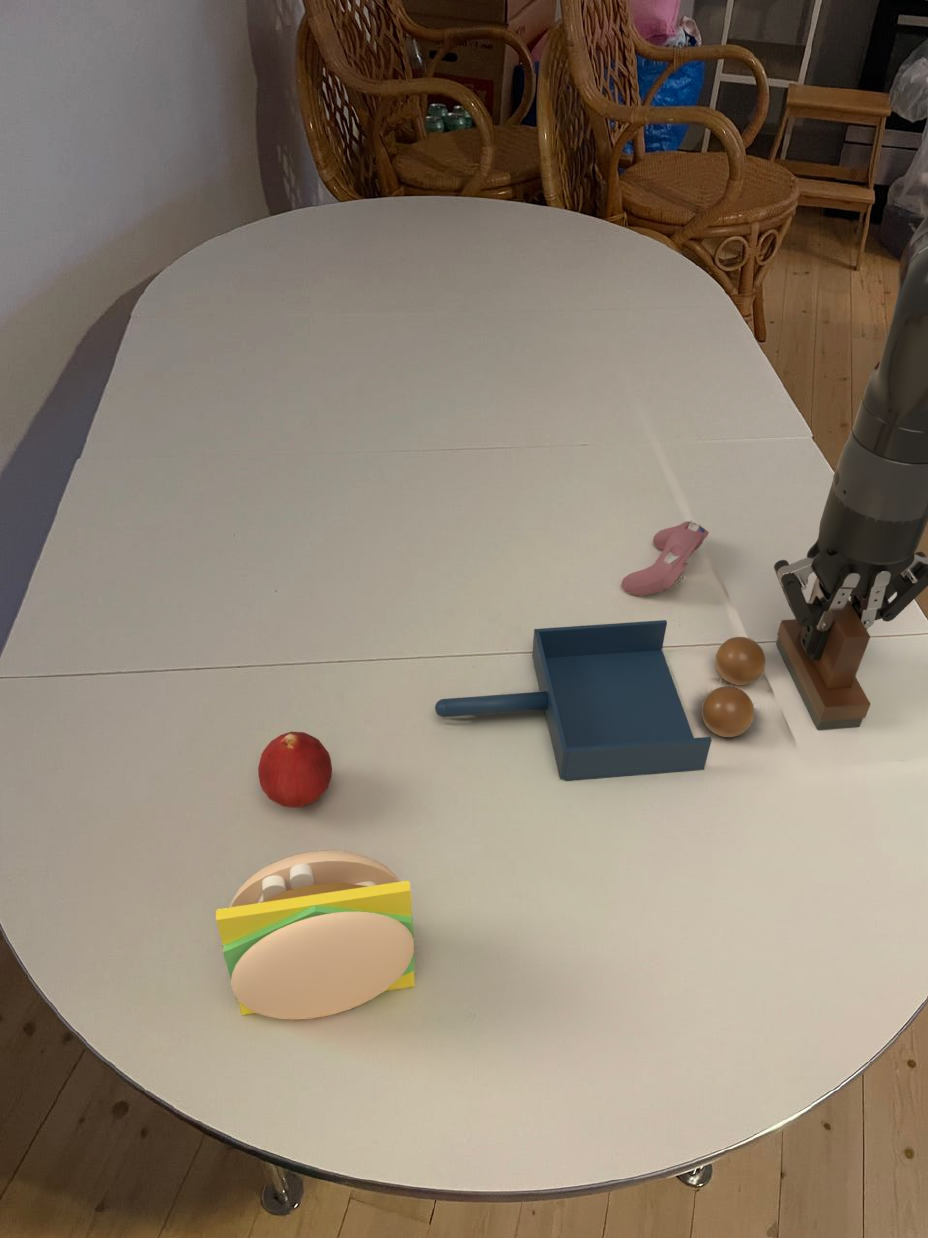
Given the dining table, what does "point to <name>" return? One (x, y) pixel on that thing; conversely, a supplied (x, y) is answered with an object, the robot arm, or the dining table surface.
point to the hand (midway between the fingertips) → (827, 651)
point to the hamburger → (317, 935)
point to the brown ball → (740, 660)
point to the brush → (829, 670)
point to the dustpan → (603, 702)
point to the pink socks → (667, 559)
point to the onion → (295, 769)
